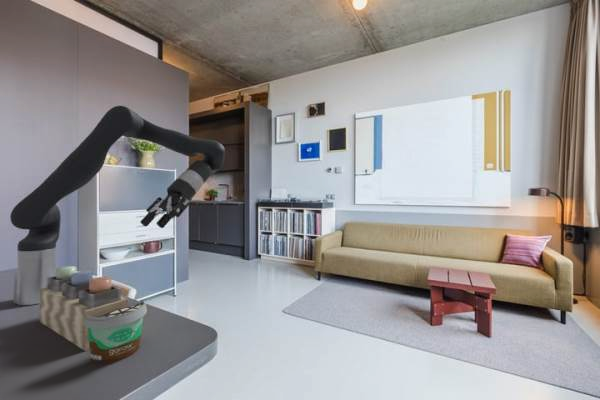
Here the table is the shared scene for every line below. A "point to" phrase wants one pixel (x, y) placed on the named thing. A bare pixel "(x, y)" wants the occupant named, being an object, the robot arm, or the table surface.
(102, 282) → the peach rounded knob
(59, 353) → the table surface
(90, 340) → the food container
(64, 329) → the button console
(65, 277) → the sage button
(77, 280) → the slate button
